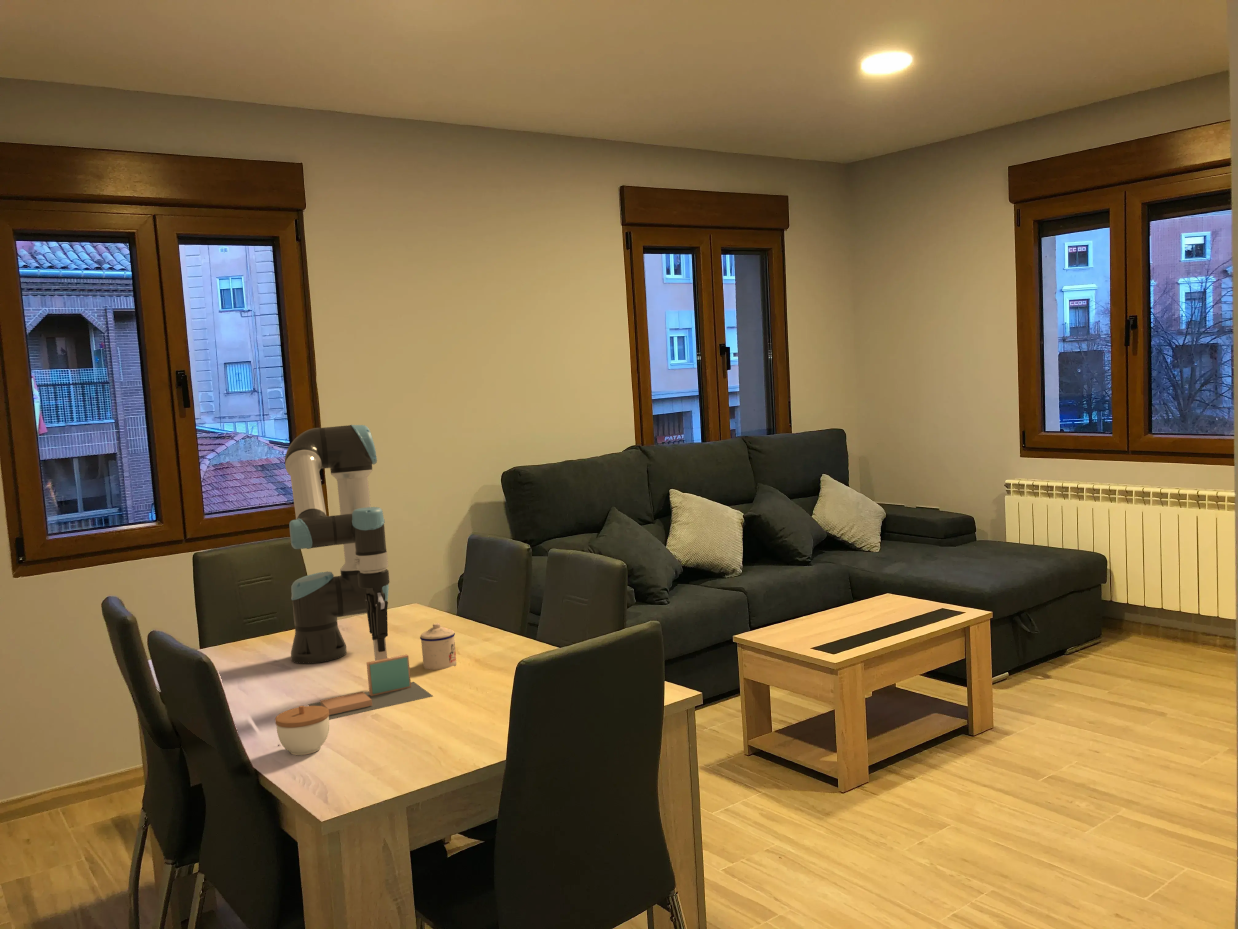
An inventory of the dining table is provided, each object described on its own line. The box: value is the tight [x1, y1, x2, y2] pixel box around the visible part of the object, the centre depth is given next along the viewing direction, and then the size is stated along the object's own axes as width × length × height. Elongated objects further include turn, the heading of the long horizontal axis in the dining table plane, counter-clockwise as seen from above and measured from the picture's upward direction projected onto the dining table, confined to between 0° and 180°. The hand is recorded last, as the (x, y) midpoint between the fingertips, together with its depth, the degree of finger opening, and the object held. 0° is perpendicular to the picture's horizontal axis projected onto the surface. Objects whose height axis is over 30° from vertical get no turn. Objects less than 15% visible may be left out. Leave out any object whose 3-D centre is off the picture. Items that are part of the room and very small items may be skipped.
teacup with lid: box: [419, 622, 457, 671], centre depth 265 cm, size 12×9×12 cm
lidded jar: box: [274, 705, 330, 756], centre depth 208 cm, size 11×11×9 cm
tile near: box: [319, 691, 372, 715], centre depth 234 cm, size 2×10×8 cm
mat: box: [307, 681, 434, 721], centre depth 238 cm, size 15×26×1 cm, turn 120°
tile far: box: [366, 653, 412, 696], centre depth 244 cm, size 2×10×8 cm, turn 120°
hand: (381, 663), depth 249 cm, fingers closed
